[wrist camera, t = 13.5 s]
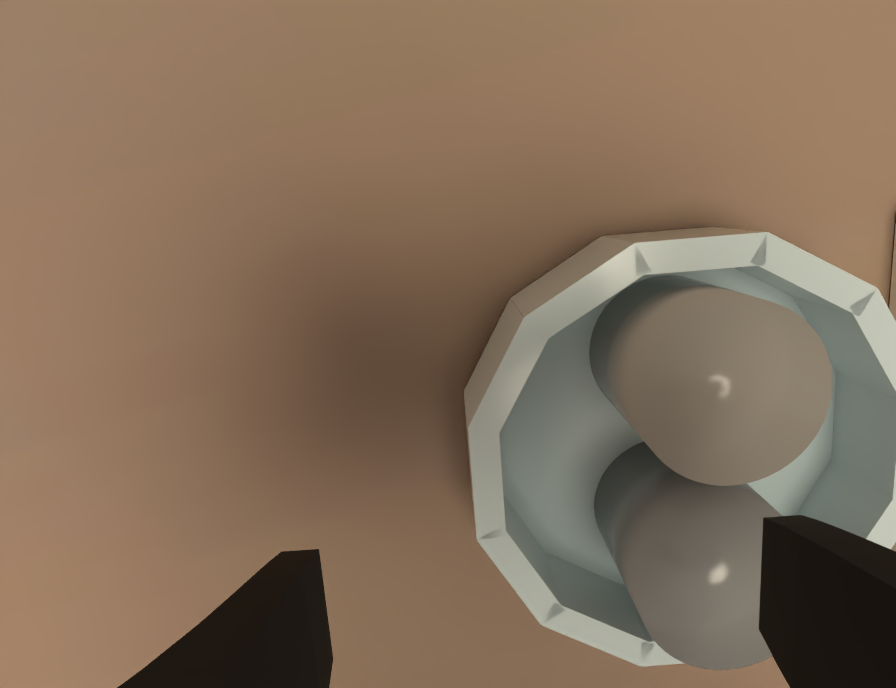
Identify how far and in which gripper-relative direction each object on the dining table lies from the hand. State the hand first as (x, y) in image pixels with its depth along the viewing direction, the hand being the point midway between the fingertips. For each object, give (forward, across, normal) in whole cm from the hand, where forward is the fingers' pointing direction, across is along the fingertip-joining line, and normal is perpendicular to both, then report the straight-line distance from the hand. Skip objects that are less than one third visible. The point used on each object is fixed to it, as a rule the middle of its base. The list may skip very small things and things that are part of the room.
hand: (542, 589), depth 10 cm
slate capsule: (+9, -5, +4) cm, 11 cm away
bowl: (+10, -5, +1) cm, 11 cm away
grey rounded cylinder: (+9, -5, -2) cm, 10 cm away
